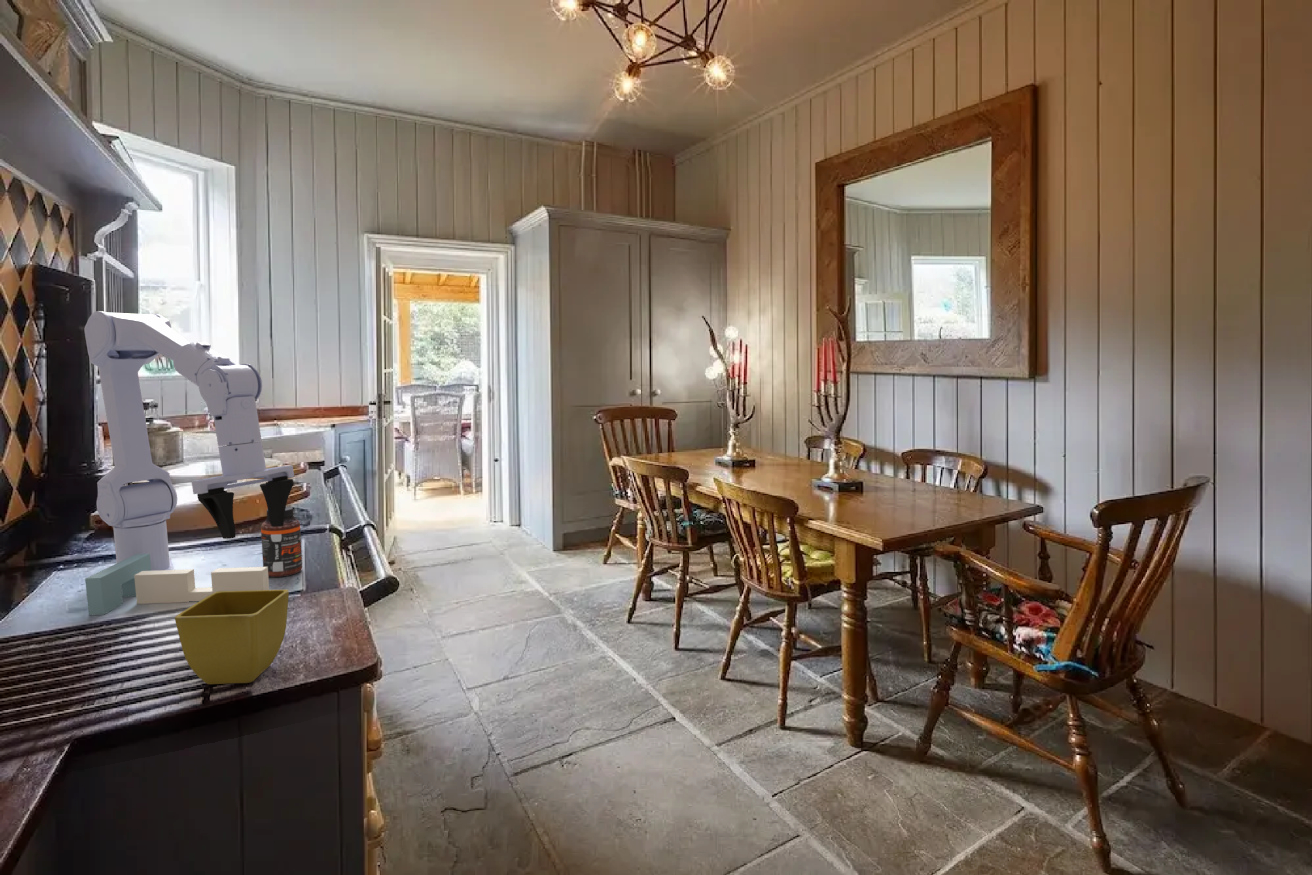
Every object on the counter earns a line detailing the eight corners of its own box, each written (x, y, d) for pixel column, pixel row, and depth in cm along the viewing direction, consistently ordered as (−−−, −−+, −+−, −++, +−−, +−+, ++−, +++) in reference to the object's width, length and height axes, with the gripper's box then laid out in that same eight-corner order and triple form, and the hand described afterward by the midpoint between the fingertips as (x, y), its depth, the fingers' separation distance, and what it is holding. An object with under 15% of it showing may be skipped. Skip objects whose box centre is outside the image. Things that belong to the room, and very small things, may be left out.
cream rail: (136, 604, 104) (134, 575, 103) (144, 599, 106) (142, 570, 105) (264, 598, 106) (262, 570, 105) (269, 594, 108) (267, 566, 107)
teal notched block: (139, 587, 111) (136, 554, 110) (152, 586, 111) (149, 553, 111) (88, 615, 99) (85, 578, 98) (104, 614, 99) (100, 577, 99)
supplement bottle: (286, 579, 115) (281, 513, 114) (255, 577, 116) (250, 511, 115) (310, 568, 121) (306, 505, 119) (281, 566, 122) (277, 503, 121)
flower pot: (221, 659, 85) (216, 589, 84) (294, 657, 86) (290, 588, 85) (178, 694, 76) (172, 617, 75) (260, 691, 77) (255, 615, 76)
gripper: (206, 448, 96) (221, 543, 97) (300, 436, 109) (313, 521, 110) (177, 451, 99) (193, 543, 100) (272, 439, 112) (285, 521, 113)
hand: (254, 532), depth 105 cm, fingers open, 7 cm apart
